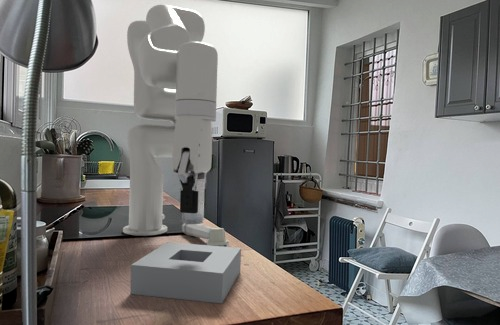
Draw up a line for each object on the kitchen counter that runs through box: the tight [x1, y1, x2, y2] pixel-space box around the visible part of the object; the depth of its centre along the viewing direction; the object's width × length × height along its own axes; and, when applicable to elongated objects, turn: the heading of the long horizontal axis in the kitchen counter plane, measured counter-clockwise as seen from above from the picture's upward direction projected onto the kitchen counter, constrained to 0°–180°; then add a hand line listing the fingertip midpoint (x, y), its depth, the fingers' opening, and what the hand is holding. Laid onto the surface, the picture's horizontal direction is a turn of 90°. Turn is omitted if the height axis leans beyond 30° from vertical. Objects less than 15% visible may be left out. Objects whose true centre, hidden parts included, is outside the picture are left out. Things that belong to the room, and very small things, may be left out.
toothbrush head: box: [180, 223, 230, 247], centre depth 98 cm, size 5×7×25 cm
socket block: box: [130, 241, 242, 304], centre depth 69 cm, size 16×16×5 cm
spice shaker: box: [181, 174, 206, 224], centre depth 68 cm, size 4×4×9 cm
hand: (193, 209), depth 68 cm, fingers closed on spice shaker, 4 cm apart
